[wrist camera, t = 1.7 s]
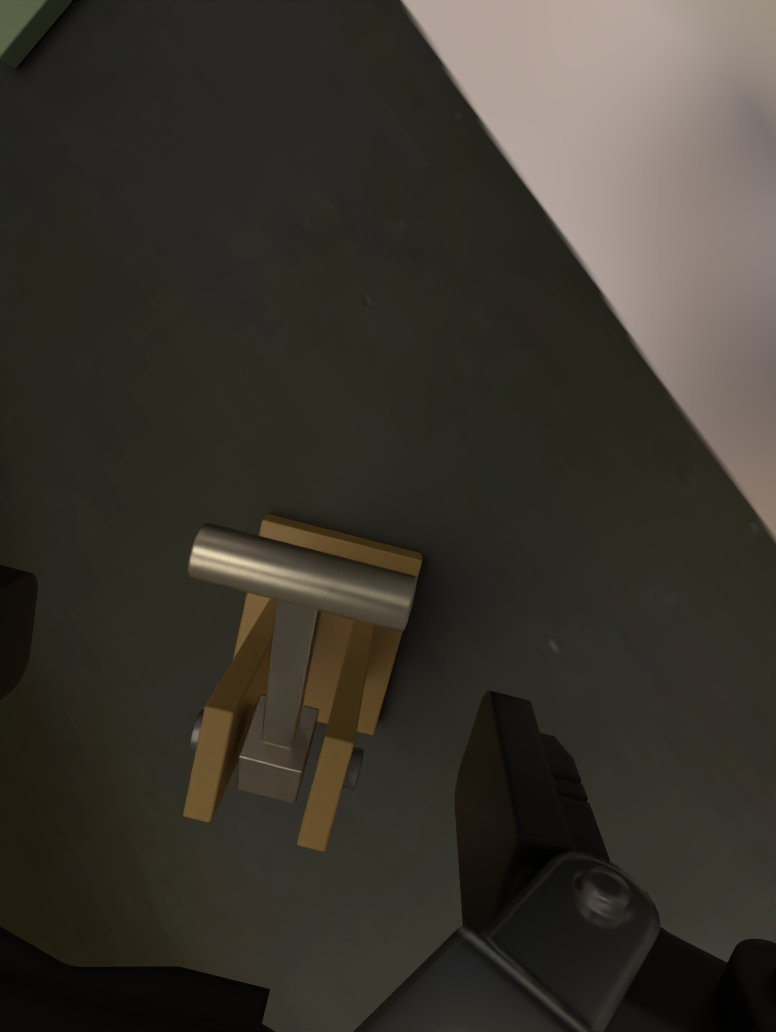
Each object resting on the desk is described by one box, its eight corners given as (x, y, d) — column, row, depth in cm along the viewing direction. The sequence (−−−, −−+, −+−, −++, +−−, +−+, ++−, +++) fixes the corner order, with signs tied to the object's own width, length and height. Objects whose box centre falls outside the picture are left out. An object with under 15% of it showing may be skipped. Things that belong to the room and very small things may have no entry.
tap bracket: (267, 512, 33) (172, 616, 20) (422, 553, 33) (421, 680, 21) (231, 686, 35) (127, 871, 23) (375, 723, 36) (348, 927, 23)
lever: (214, 497, 17) (177, 567, 15) (423, 551, 17) (409, 626, 15) (215, 718, 25) (191, 778, 24) (353, 753, 25) (339, 815, 24)
